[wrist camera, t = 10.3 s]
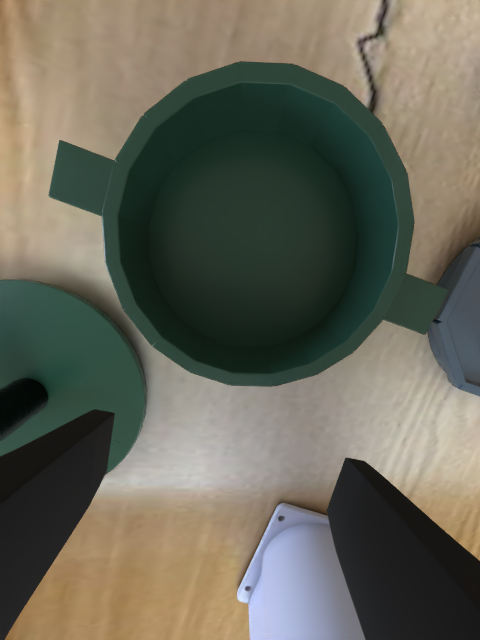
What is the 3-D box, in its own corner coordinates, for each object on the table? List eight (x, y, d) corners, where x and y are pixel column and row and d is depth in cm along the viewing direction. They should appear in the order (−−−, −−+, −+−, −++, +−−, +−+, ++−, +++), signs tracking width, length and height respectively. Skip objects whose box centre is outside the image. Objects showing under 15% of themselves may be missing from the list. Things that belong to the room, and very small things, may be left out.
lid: (119, 501, 20) (80, 582, 15) (-82, 445, 19) (-198, 512, 14) (176, 323, 17) (151, 349, 12) (-57, 244, 16) (-192, 236, 11)
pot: (349, 394, 18) (384, 436, 14) (71, 301, 17) (12, 314, 12) (447, 192, 15) (528, 165, 11) (127, 58, 14) (78, -33, 10)
